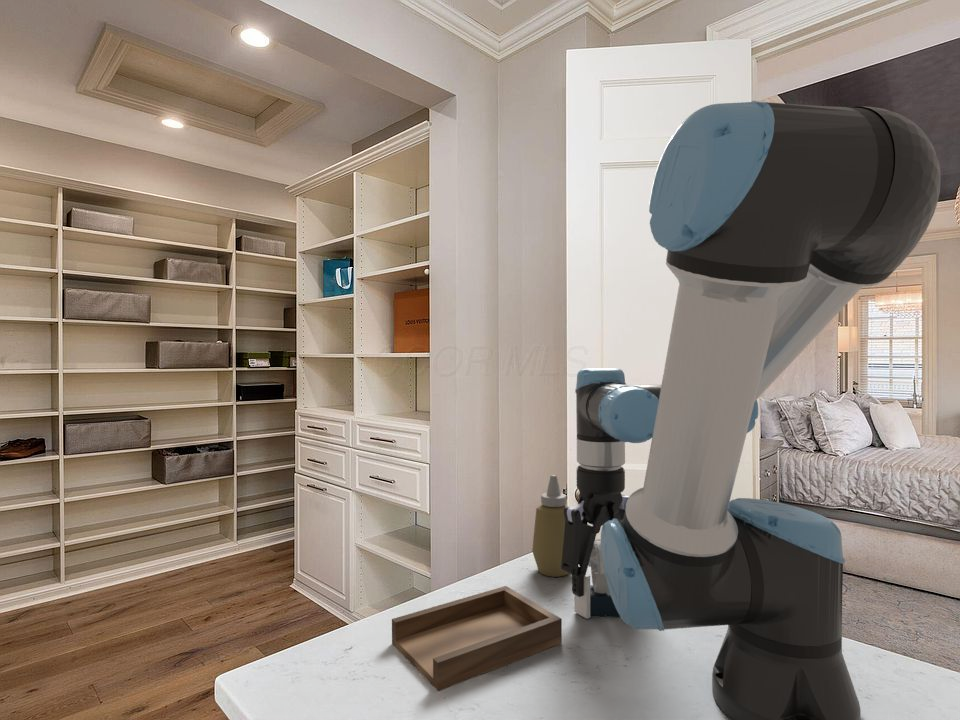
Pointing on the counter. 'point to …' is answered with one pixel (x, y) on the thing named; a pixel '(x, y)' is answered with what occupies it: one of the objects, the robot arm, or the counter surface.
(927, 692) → the counter surface
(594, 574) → the watch
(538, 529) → the squeeze bottle
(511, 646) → the walnut track
